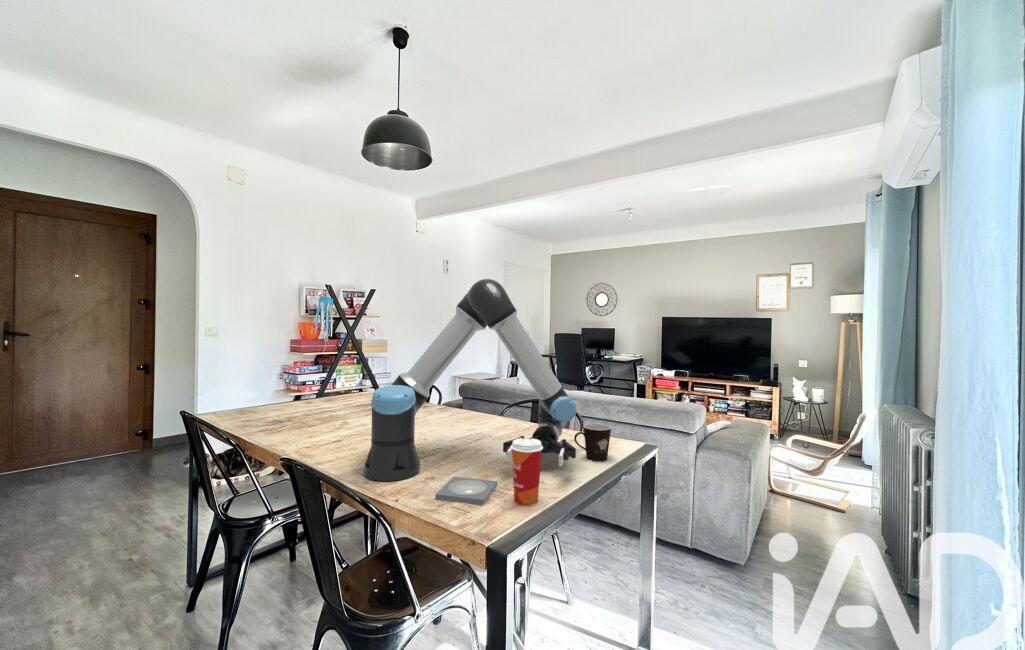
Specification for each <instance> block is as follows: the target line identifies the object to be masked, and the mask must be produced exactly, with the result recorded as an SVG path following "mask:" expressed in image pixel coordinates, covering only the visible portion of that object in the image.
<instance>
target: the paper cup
mask: <svg viewBox="0 0 1025 650" xmlns="http://www.w3.org/2000/svg"><path fill="white" fill-rule="evenodd" d="M529 438H531V437H527V438H526V437H525V439H522V438H520V439H516V438H515V439H516V440H514V441H513V443H512V445H511V449H512V459H511V460H512V479H513V484H512V485H513V499H514V500H513V501H514V502H515V504H517V503H518V505H520V504H521V505H520V506H533V505H536V504H537V503H538V500H539V489H540V488H539V487H540V478H541V477H540V476H541V464H542V463H541V462H542V453H541V451H542V449H543V446H542V444H541V441H539V440H537V439H532V438H531V439H529ZM535 503H536V504H535ZM532 504H533V505H532Z"/></svg>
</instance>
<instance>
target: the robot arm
mask: <svg viewBox="0 0 1025 650" xmlns="http://www.w3.org/2000/svg"><path fill="white" fill-rule="evenodd" d="M455 311H456V312H455V315H454V316H453V317H452V318H451V319H450V320H449V322H448V323H447V324H446V326H445V327H444V328H443V329H442V331H441V332H440V333H439V334H438V335H437V336H436V338H435V339H434V340H433V342H431V343H430V345H429V346H428V347H427V349H426V350H425V351H424V352H423V354H422V355H420V357H419V358H418V360H417V361H416V362H415V363H414V364H413V366H412V367H411V368H410V369H409V370H408V371H407V372H403V373H402V372H401V373H400V374H399V375H398V376H397V377H396V378H395V380H394V381H393V382H392V383H391V385H384V386H382V387H379V388H377V389H375V390H374V391H373V393H372V397H371V402H370V403H371V434H370V435H371V439H370V441H371V444H370V448H369V450H368V454H367V456H366V459H365V462H364V466H363V475H364V477H365V478H366V479H368V480H371V481H377V482H392V481H394V482H395V481H402V480H405V479H410V478H412V477H414V476H416V475H418V474H419V472H420V471H421V460H420V457H419V453H418V450H417V448H416V444H415V428H416V427H415V423H416V421H415V420H416V419H415V417H416V414H417V413H418V412H419V410H420V409H421V408H422V406H423V405H425V402H427V400H428V399H429V398H430V389H431V388H432V387H433V386H434V384H435V383H436V382H437V380H439V378H440V377H441V376H442V374H443V373H444V372H445V371H446V369H447V368H448V367H449V366H450V364H451V363H452V362H453V361H454V360H455V358H457V356H458V355H459V353H460V352H461V351H462V350H463V349H464V347H465V346H466V345H467V344H468V342H469V341H470V340H471V339H472V338H473V336H474V335H475V334H476V333H477V332H478V331H483V330H485V329H486V327H488V329H490V330H493V331H494V332H495V333H496V334H497V336H498V338H499V339H500V340H501V342H502V343H503V344H504V346H505V348H506V349H507V351H508V353H509V354H510V355H511V357H512V359H513V360H514V362H515V363H516V365H517V366H518V368H519V369H520V371H521V373H523V376H525V378H526V379H527V381H528V383H529V384H530V386H531V387H532V389H533V390H534V392H535V393H536V395H537V397H538V426H537V428H536V429H535V430H534V432H533V433H532V435H531V437H528V438H529V439H531V438H532V439H537V440H539V441H541V444H542V446H543V449H542V451H541V454H542V453H543V454H548V453H550V454H551V453H553V454H556V455H558V467H562V466H563V465H564V464H563V463H564V462H565V461H568V460H569V458H571V459H576V458H577V457H576V456H577V448H576V447H574V446H573V445H572V444H570V443H569V442H568V441H567V439H565V438H562V440H560V441H559V438H560V437H561V436H562V433H563V423H564V424H565V423H568V422H570V421H572V420H573V419H574V418H575V416H576V414H577V405H576V403H575V402H574V401H573V398H571V397H569V396H568V394H567V392H566V390H565V389H564V388H563V386H562V383H561V382H559V380H558V378H557V376H556V375H555V374H554V372H553V371H552V369H551V368H550V367H551V366H550V365H549V364H548V363H547V361H546V360H545V358H544V357H543V355H542V354H541V352H540V351H539V349H538V347H537V346H536V344H535V343H534V341H533V340H532V338H531V337H530V335H529V333H528V332H527V331H526V329H525V328H524V326H523V324H522V323H521V321H520V320H519V318H518V317H517V315H518V310H517V309H516V307H515V305H514V304H513V302H512V300H511V299H510V296H509V295H508V294H507V291H506V289H505V287H503V285H502V284H501V283H500V282H498V281H496V280H494V279H492V278H483V279H480V280H477V282H475V283H473V285H472V286H471V287H470V289H469V290H468V291H467V292H466V293H465V295H464V296H463V298H462V299H461V300H460V301H459V302H458V304H457V305H456V307H455ZM520 438H522V439H525V438H526V437H525V436H524V435H521V436H519V437H516V438H514V439H511V440H507V441H505V442H504V441H503V442H502V447H503V448H502V452H503V453H505V455H506V462H507V463H509V462H511V461H512V460H513V459H512V449H511V445H512V443H513V441H514V440H516V439H520Z"/></svg>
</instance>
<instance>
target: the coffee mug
mask: <svg viewBox="0 0 1025 650" xmlns="http://www.w3.org/2000/svg"><path fill="white" fill-rule="evenodd" d="M611 433H612V427H611V426H609V425H606V424H602V423H587V424H586V423H585V424H584V425H583V432H582V431H579V432H576V434H574V438H573V439H574V440H573V441H574V442H575V444H576V445H577V446H578V447H580V448H581V449H583V450H584V451H585V455H586V456H585V457H586V459H587V460H588V461H590V460H592V461H591V462H595V461H603V462H606V461H607V460H608V455H609V454H608V453H609V447H610V439H611ZM579 435H583V436H584V446H585V447H584V446H582V445H581V444H580V443H579V442H578V440H577V438H578V436H579ZM605 460H606V461H605Z"/></svg>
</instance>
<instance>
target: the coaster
mask: <svg viewBox="0 0 1025 650" xmlns="http://www.w3.org/2000/svg"><path fill="white" fill-rule="evenodd" d="M497 486H498V480H489V479H482V478H479V479H478V478H471V477H462V476H453V477H451V479H449V480H448V481H447V483H445V485H443V486H442V487H441V488H440V489H439V490H438V491H437V492H436V493H435V494H434V496H435V497H434V499H435V500H438V501H447V502H456V503H463V504H472V505H480V506H481V505H482V506H484V505H485V504H486V502H487V501H488V499H489V498H490V497H491V495H492V493H494V492H495V489H496V488H497Z"/></svg>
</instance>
